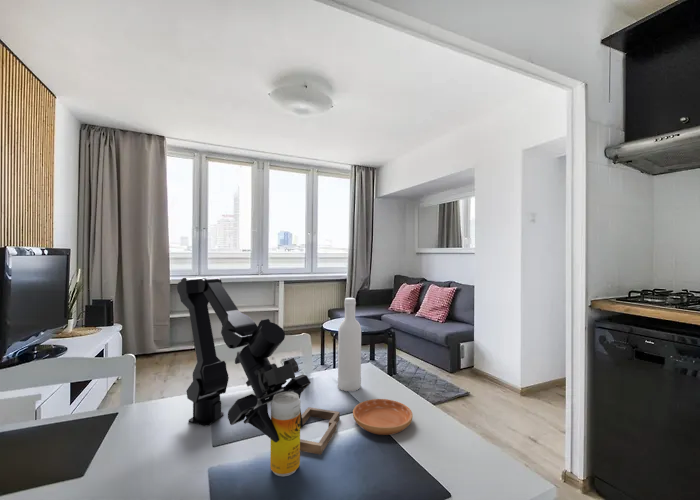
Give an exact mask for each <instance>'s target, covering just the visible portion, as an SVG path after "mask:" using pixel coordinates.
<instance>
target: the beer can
mask: <svg viewBox="0 0 700 500" xmlns="http://www.w3.org/2000/svg"><path fill="white" fill-rule="evenodd" d="M300 409H301V398H300V399H299V396H298V394H297V393H294V392H281V393H278V394H276V395H274V397H273V400H272V402H270V419H271V421H272V423H273V425H274V427H275V429H276V431H277V434H278V437H279V441H278V442H274V441H273V440H272V439H270V455H269V456H270V459H269V460H270V462H269V463H270V464H269V465H270V466H269V467H270V470H271V471H272V472H273V474H274V475H275V476H278V477H289V476H292V475H293V474H294V473H295V472H296V471H297V470H298V469H299V467H300V465H301V464H300V463H301V451H300V439H301V429H300Z"/></svg>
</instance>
